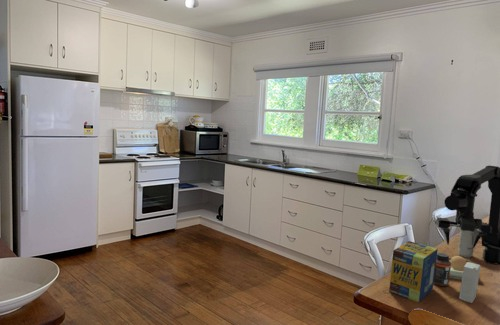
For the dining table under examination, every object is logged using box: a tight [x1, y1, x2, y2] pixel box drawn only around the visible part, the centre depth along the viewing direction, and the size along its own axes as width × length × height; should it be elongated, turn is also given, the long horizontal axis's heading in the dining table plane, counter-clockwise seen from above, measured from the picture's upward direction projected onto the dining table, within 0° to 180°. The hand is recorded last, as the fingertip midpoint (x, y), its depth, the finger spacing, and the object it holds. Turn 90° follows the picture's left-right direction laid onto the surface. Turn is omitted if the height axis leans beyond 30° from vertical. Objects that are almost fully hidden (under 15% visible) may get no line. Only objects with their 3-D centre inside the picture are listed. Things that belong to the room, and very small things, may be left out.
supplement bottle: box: [433, 252, 451, 287], centre depth 143 cm, size 6×6×11 cm
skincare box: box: [458, 262, 481, 304], centre depth 131 cm, size 6×4×12 cm
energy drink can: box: [457, 229, 475, 258], centre depth 174 cm, size 6×6×15 cm
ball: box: [450, 255, 467, 271], centre depth 153 cm, size 6×6×6 cm
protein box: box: [388, 240, 438, 303], centre depth 136 cm, size 10×15×16 cm
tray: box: [449, 260, 480, 283], centre depth 153 cm, size 12×12×3 cm
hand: (460, 245), depth 152 cm, fingers open, 9 cm apart
